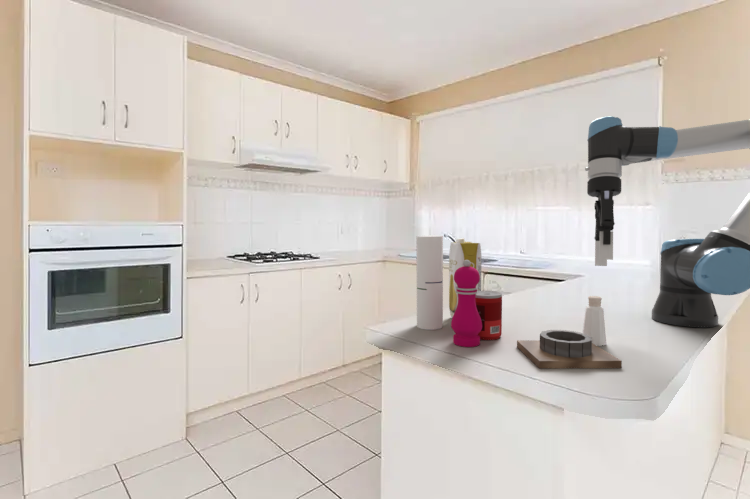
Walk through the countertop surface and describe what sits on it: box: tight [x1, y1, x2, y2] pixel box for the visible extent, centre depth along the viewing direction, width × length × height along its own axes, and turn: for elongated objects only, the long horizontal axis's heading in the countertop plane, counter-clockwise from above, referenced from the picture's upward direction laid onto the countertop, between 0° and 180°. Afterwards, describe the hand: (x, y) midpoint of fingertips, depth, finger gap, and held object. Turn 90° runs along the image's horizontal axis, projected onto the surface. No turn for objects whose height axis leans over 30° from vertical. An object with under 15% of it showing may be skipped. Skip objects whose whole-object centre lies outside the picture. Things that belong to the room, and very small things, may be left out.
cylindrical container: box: [416, 234, 444, 331], centre depth 115 cm, size 7×7×25 cm
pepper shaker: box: [582, 295, 607, 347], centre depth 99 cm, size 5×5×11 cm
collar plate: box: [516, 329, 623, 369], centre depth 89 cm, size 16×14×4 cm
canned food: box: [475, 290, 503, 341], centre depth 105 cm, size 8×8×11 cm
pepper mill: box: [450, 260, 482, 348], centre depth 99 cm, size 7×7×20 cm
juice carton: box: [448, 237, 482, 318], centre depth 122 cm, size 9×8×24 cm
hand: (603, 262), depth 103 cm, fingers open, 13 cm apart
